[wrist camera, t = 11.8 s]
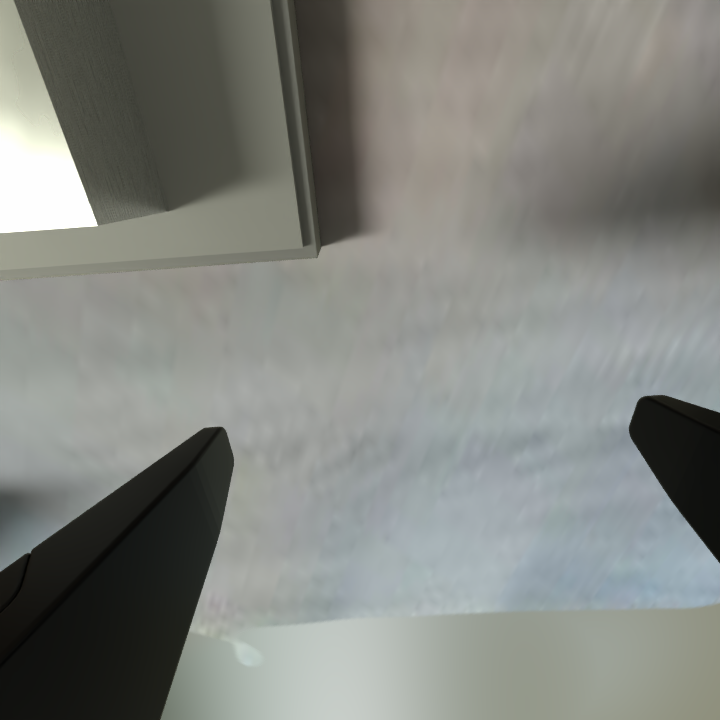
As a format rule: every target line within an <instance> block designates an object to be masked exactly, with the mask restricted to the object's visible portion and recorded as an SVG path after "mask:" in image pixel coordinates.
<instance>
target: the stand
mask: <svg viewBox="0 0 720 720" xmlns="http://www.w3.org/2000/svg"><path fill="white" fill-rule="evenodd" d="M110 4H111V7H112V11H113V14H114V18H115V21H116V25H117V28H118V32H119V36H120V39H121V43H122V46H123V50H124V53H125V57H126V60H127V64H128V67H129V71H130V75H131V78H132V82H133V85H134V89H135V92H136V96H137V99H138V103H139V106H140V110H141V114H142V117H143V121H144V124H145V128H146V131H147V135H148V138H149V142H150V146H151V149H152V153H153V156H154V160H155V163H156V167H157V170H158V174H159V177H160V181H161V185H162V188H163V192H164V195H165V199H166V202H167V206H168V209H169V212H164V213H159V214H154V215H149V216H144V217H139V218H134V219H129V220H124V221H119V222H114V223H109V224H104V225H99V226H87V227H73V228H59V229H45V230H30V231H16V232H2V233H0V281H4V280H18V279H32V278H46V277H60V276H73V275H87V274H101V273H115V272H129V271H142V270H156V269H170V268H184V267H198V266H211V265H225V264H239V263H253V262H267V261H281V260H294V259H308V258H317V257H318V255H319V252H320V249H321V240H320V231H319V222H318V213H317V204H316V195H315V185H314V176H313V167H312V158H311V149H310V140H309V131H308V122H307V113H306V104H305V95H304V86H303V77H302V68H301V59H300V50H299V40H298V31H297V22H296V13H295V4H294V0H110Z"/></svg>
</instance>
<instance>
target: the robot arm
mask: <svg viewBox="0 0 720 720" xmlns="http://www.w3.org/2000/svg"><path fill="white" fill-rule="evenodd" d="M629 434H630V437H631V439H632V440H633V442H634V444H635V445H636V447H637V448H638V450H639V451H640V453H641V455H642V456H643V458H644V459H645V461H646V462H647V464H648V465H649V467H650V469H651V470H652V472H653V473H654V475H655V476H656V478H657V479H658V481H659V483H660V484H661V486H662V487H663V489H664V490H665V492H666V493H667V495H668V496H669V498H670V499H671V501H672V502H673V503H674V505H675V506H676V507H677V509H678V510H679V512H680V513H681V514H682V515H683V517H684V518H685V519H686V521H687V522H688V523H689V524H690V526H691V527H692V528H693V530H694V531H695V532H696V533H697V535H698V536H699V537H700V539H701V540H702V541H703V542H704V544H705V545H706V546H707V548H708V549H709V550H710V551H711V553H712V554H713V555H714V557H715V558H716V559H717V560H718V562H719V563H720V413H719V412H716V411H713V410H709V409H706V408H703V407H700V406H697V405H694V404H691V403H688V402H684V401H681V400H678V399H675V398H672V397H669V396H665V395H653V396H644V397H641V398H640V399H639V400H638V402H637V405H636V408H635V411H634V414H633V416H632V419H631V422H630V425H629ZM233 467H234V457H233V453H232V449H231V446H230V443H229V439H228V436H227V433H226V430H225V429H224V428H223V427H209V428H203V429H202V430H200V431H199V432H197V433H196V434H195V435H193V436H192V437H190V438H189V439H188V440H186V441H185V442H183V443H182V444H180V445H179V446H178V447H176V448H175V449H173V450H172V451H171V452H169V453H168V454H166V455H165V456H164V457H162V458H161V459H159V460H158V461H156V462H155V463H154V464H152V465H151V466H149V467H148V468H147V469H145V470H144V471H142V472H141V473H140V474H138V475H137V476H135V477H134V478H132V479H131V480H130V481H128V482H127V483H125V484H124V485H123V486H121V487H120V488H118V489H117V490H115V491H114V492H113V493H111V494H110V495H108V496H107V497H106V498H104V499H103V500H101V501H100V502H98V503H97V504H96V505H94V506H93V507H91V508H90V509H89V510H87V511H86V512H84V513H83V514H82V515H80V516H79V517H77V518H76V519H74V520H73V521H72V522H70V523H69V524H67V525H66V526H65V527H63V528H62V529H60V530H59V531H57V532H56V533H55V534H53V535H52V536H50V537H49V538H48V539H46V540H45V541H43V542H42V543H41V544H39V545H38V546H36V547H35V548H34V549H32V551H31V554H30V553H27V554H25V555H23V556H22V557H21V558H19V559H18V560H16V561H15V562H14V563H12V564H11V565H9V566H8V567H7V568H5V569H4V570H2V571H1V572H0V720H160V719H161V716H162V712H163V709H164V706H165V704H166V700H167V697H168V694H169V691H170V688H171V685H172V681H173V679H174V675H175V672H176V669H177V666H178V663H179V660H180V657H181V654H182V650H183V647H184V644H185V641H186V638H187V635H188V632H189V629H190V626H191V622H192V619H193V616H194V613H195V610H196V607H197V604H198V601H199V597H200V594H201V591H202V588H203V585H204V582H205V579H206V576H207V572H208V569H209V566H210V563H211V560H212V557H213V554H214V551H215V547H216V544H217V541H218V537H219V534H220V530H221V526H222V521H223V516H224V511H225V506H226V501H227V497H228V492H229V487H230V482H231V477H232V472H233Z"/></svg>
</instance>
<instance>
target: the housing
mask: <svg viewBox="0 0 720 720" xmlns="http://www.w3.org/2000/svg"><path fill="white" fill-rule="evenodd" d="M164 212H169V209H168V206H167V202H166V199H165V195H164V192H163V188H162V185H161V181H160V177H159V174H158V170H157V167H156V163H155V160H154V156H153V153H152V149H151V146H150V142H149V138H148V135H147V131H146V128H145V124H144V121H143V117H142V114H141V110H140V106H139V103H138V99H137V96H136V92H135V89H134V85H133V82H132V78H131V75H130V71H129V67H128V64H127V60H126V57H125V53H124V50H123V46H122V43H121V39H120V36H119V32H118V28H117V25H116V21H115V18H114V14H113V11H112V7H111V4H110V0H0V233H2V232H16V231H30V230H45V229H59V228H73V227H87V226H99V225H104V224H109V223H114V222H119V221H124V220H129V219H134V218H139V217H144V216H149V215H154V214H159V213H164Z"/></svg>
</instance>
